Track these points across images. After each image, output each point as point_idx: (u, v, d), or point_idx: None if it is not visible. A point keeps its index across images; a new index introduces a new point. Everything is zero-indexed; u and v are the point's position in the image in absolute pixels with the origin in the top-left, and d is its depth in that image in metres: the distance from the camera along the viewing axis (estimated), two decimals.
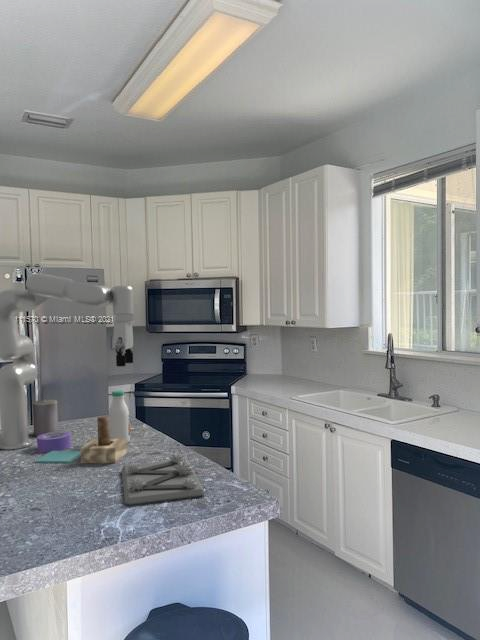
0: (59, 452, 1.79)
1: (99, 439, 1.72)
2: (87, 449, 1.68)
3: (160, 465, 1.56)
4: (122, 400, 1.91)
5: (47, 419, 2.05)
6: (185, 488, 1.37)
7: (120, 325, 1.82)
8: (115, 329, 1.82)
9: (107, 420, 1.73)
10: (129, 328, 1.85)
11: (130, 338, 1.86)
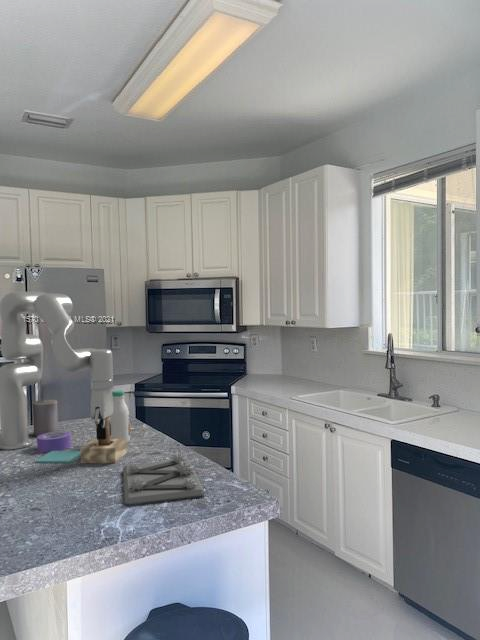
0: (59, 452, 1.79)
1: (99, 439, 1.72)
2: (87, 449, 1.68)
3: (161, 465, 1.56)
4: (122, 400, 1.91)
5: (47, 419, 2.05)
6: (185, 488, 1.36)
7: (98, 394, 1.69)
8: (92, 398, 1.69)
9: (107, 420, 1.73)
10: (108, 395, 1.72)
11: (109, 406, 1.73)
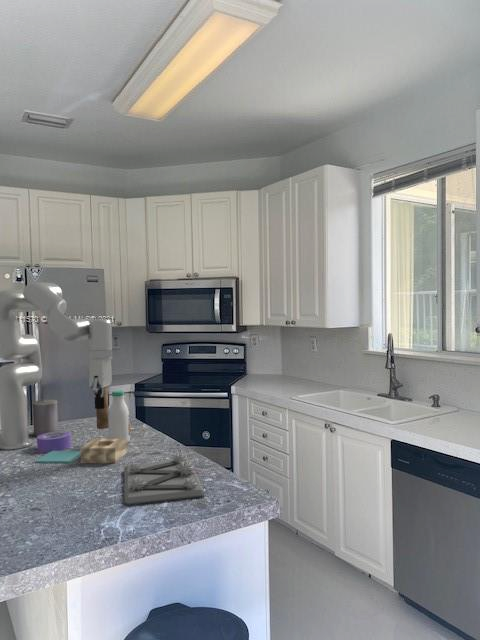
0: (59, 452, 1.79)
1: (97, 409, 1.72)
2: (87, 449, 1.68)
3: (162, 465, 1.56)
4: (122, 400, 1.91)
5: (47, 419, 2.05)
6: (185, 488, 1.36)
7: (96, 363, 1.68)
8: (91, 367, 1.69)
9: (105, 390, 1.72)
10: (107, 365, 1.72)
11: (108, 375, 1.73)
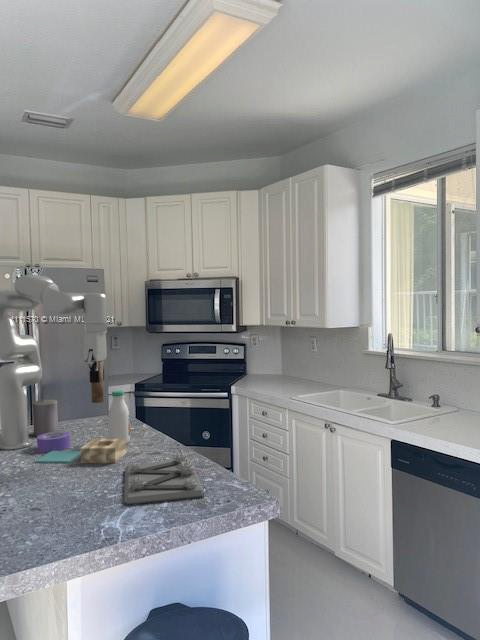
0: (59, 452, 1.79)
1: (92, 383, 1.72)
2: (87, 449, 1.68)
3: (163, 465, 1.56)
4: (122, 400, 1.91)
5: (47, 419, 2.05)
6: (185, 488, 1.36)
7: (91, 336, 1.68)
8: (86, 340, 1.68)
9: (100, 364, 1.72)
10: (101, 339, 1.72)
11: (103, 349, 1.73)
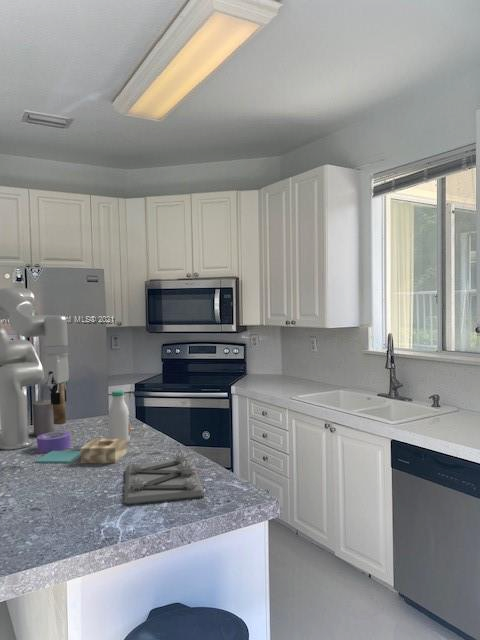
0: (59, 452, 1.79)
1: None
2: (87, 449, 1.68)
3: (164, 465, 1.56)
4: (122, 400, 1.91)
5: (47, 419, 2.05)
6: (185, 489, 1.36)
7: (51, 358, 1.70)
8: (46, 362, 1.70)
9: (61, 385, 1.74)
10: (62, 361, 1.73)
11: (64, 371, 1.74)
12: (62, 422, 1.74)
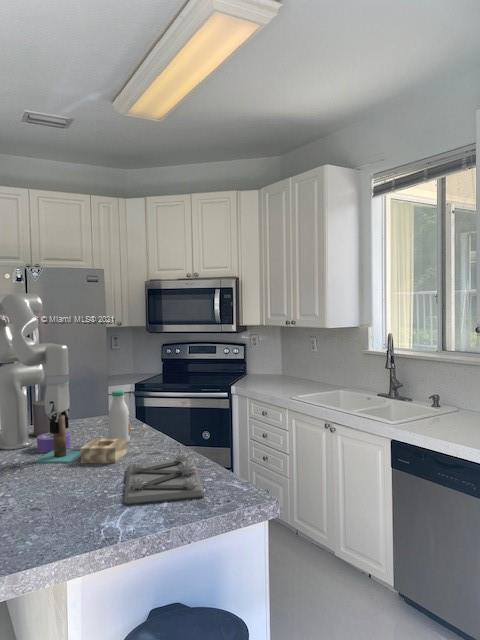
0: None
1: (54, 437, 1.73)
2: (87, 449, 1.68)
3: (164, 465, 1.56)
4: (122, 400, 1.91)
5: (47, 419, 2.05)
6: (185, 489, 1.36)
7: (52, 388, 1.70)
8: (47, 392, 1.70)
9: (62, 419, 1.74)
10: (63, 390, 1.73)
11: (64, 400, 1.75)
12: (63, 455, 1.74)
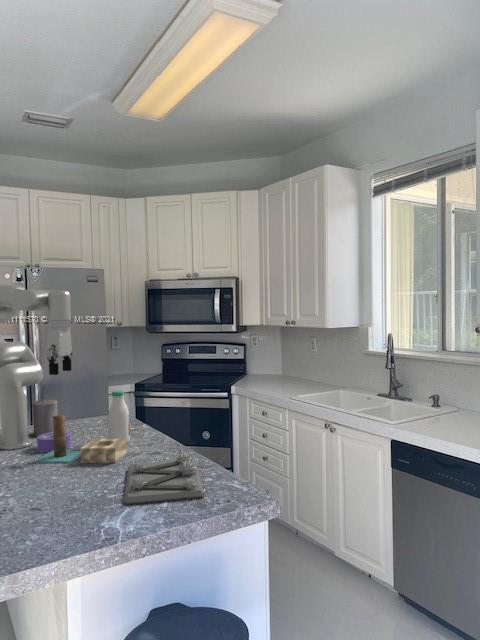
0: None
1: (54, 437, 1.74)
2: (87, 449, 1.68)
3: (165, 465, 1.56)
4: (122, 400, 1.91)
5: (47, 419, 2.05)
6: (185, 489, 1.36)
7: (54, 332, 1.74)
8: (49, 336, 1.74)
9: (62, 418, 1.74)
10: (65, 335, 1.77)
11: (66, 345, 1.78)
12: (63, 455, 1.74)
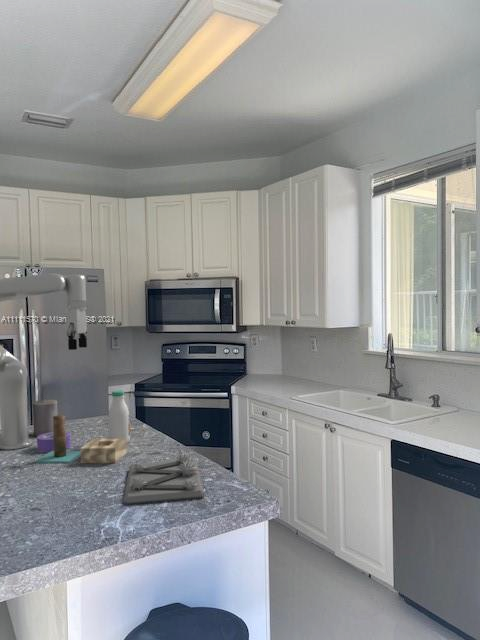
0: None
1: (54, 437, 1.74)
2: (87, 449, 1.68)
3: (166, 464, 1.56)
4: (122, 400, 1.91)
5: (47, 419, 2.05)
6: (184, 489, 1.36)
7: (72, 311, 1.95)
8: (67, 315, 1.95)
9: (62, 418, 1.74)
10: (81, 314, 1.98)
11: (82, 323, 1.99)
12: (63, 455, 1.74)
